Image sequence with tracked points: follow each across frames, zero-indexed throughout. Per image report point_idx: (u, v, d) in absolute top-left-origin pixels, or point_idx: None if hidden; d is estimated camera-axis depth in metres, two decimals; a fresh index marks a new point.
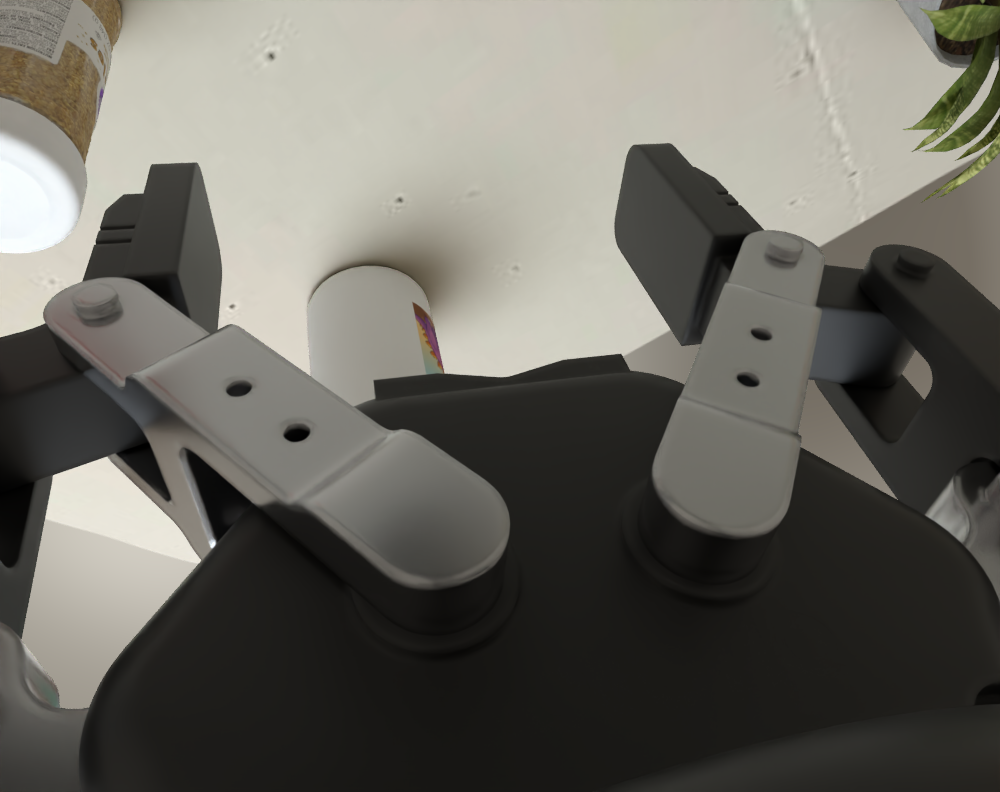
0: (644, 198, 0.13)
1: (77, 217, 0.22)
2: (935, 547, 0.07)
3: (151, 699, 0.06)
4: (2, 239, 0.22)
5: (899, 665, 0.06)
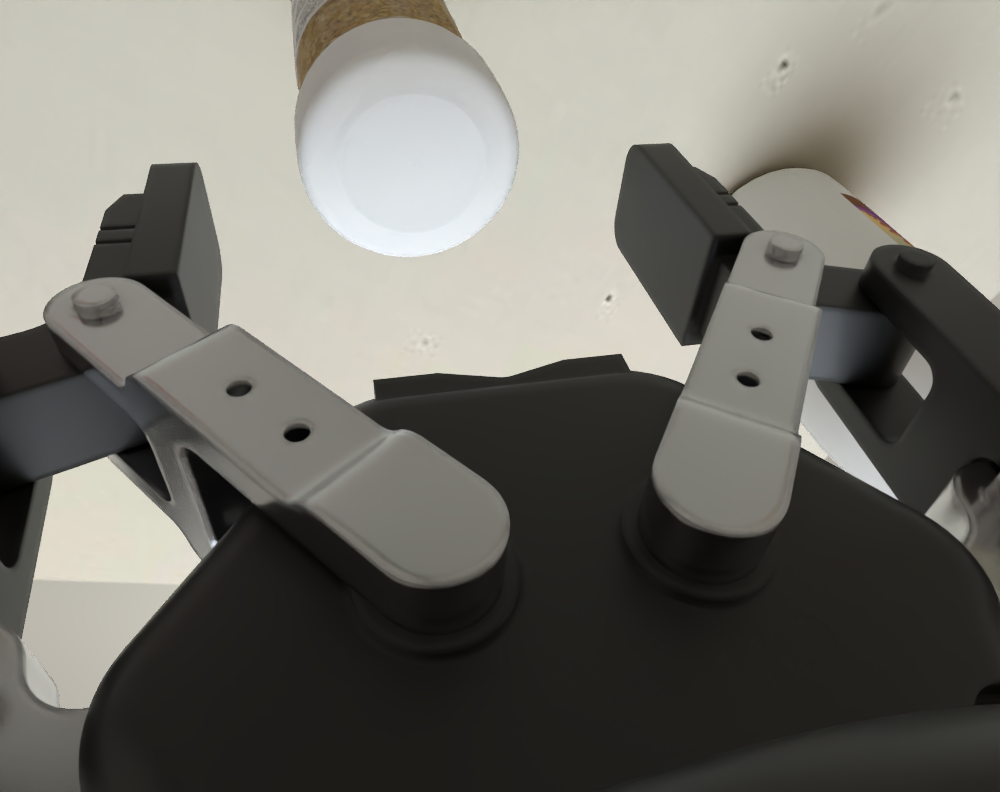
0: (644, 198, 0.13)
1: (517, 154, 0.15)
2: (935, 547, 0.07)
3: (152, 699, 0.06)
4: (437, 229, 0.16)
5: (899, 665, 0.06)
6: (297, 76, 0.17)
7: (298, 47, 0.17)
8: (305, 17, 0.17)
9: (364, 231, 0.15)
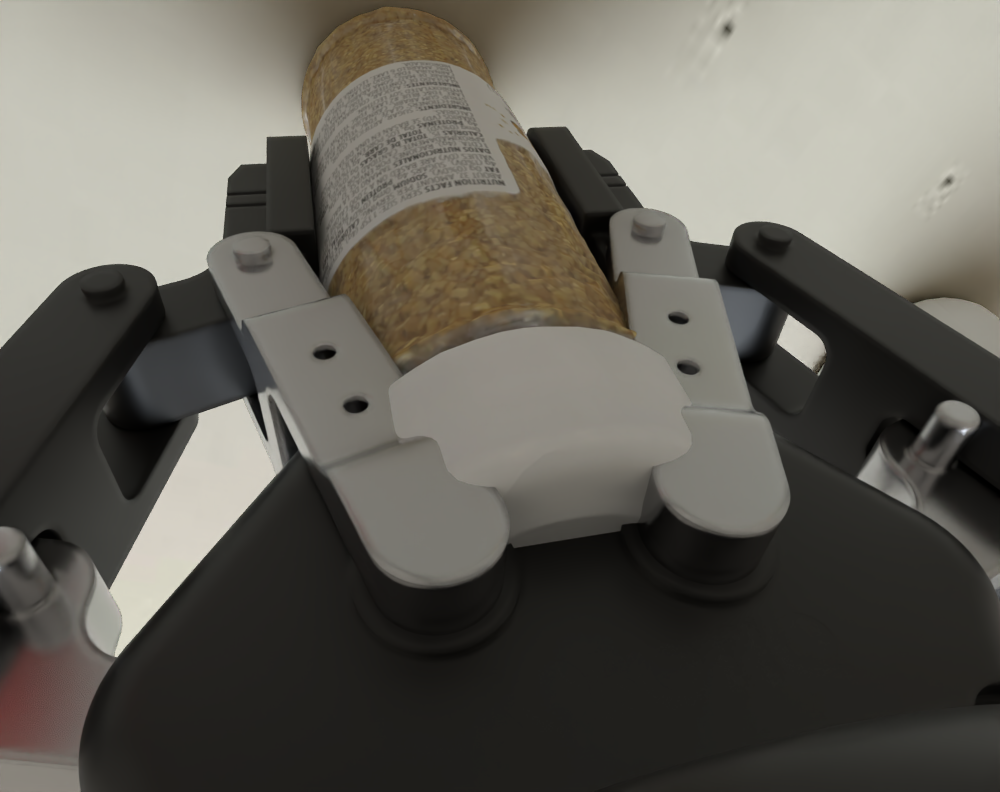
0: None
1: None
2: (919, 534, 0.07)
3: (151, 699, 0.06)
4: None
5: (949, 675, 0.06)
6: None
7: (327, 290, 0.10)
8: (339, 237, 0.10)
9: None
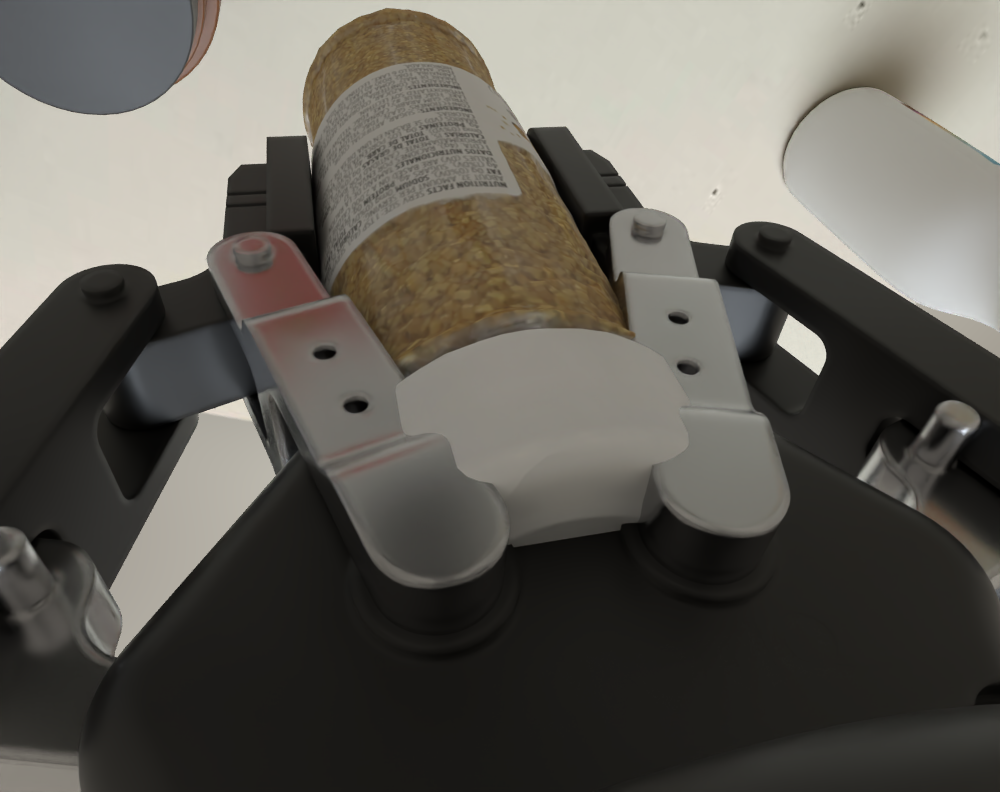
0: None
1: None
2: (919, 534, 0.07)
3: (151, 699, 0.06)
4: None
5: (948, 675, 0.06)
6: None
7: (330, 292, 0.10)
8: (341, 239, 0.10)
9: None
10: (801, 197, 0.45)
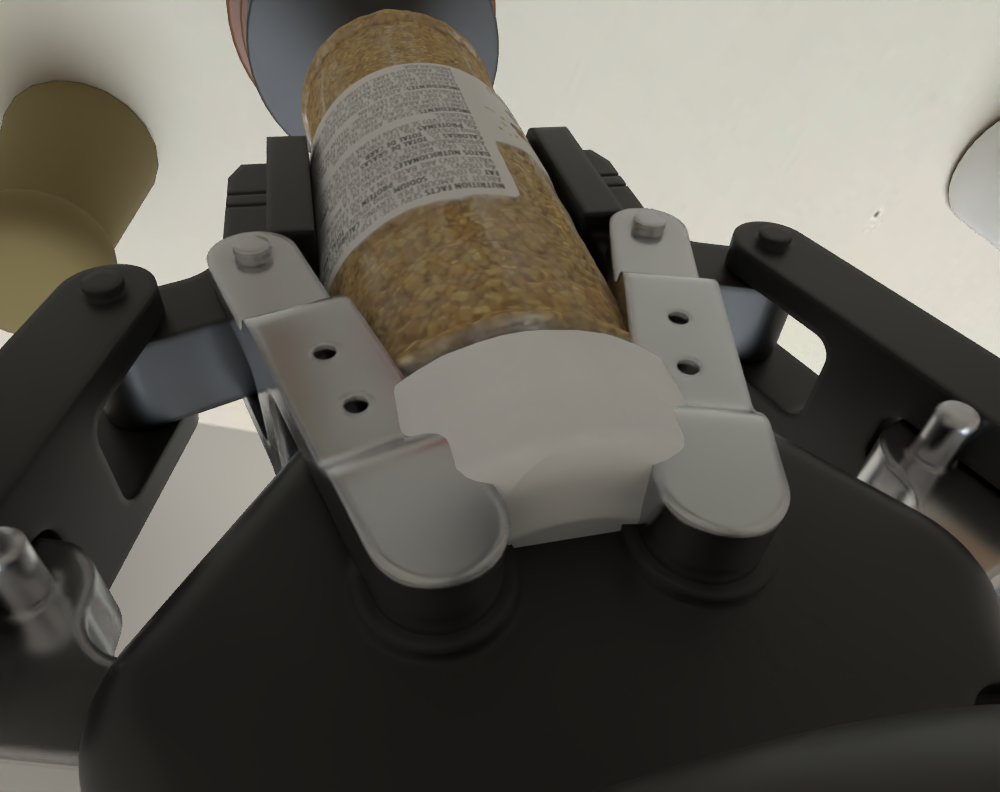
0: None
1: None
2: (919, 534, 0.07)
3: (151, 700, 0.06)
4: None
5: (948, 675, 0.06)
6: None
7: (328, 293, 0.10)
8: (339, 240, 0.10)
9: None
10: (973, 219, 0.43)
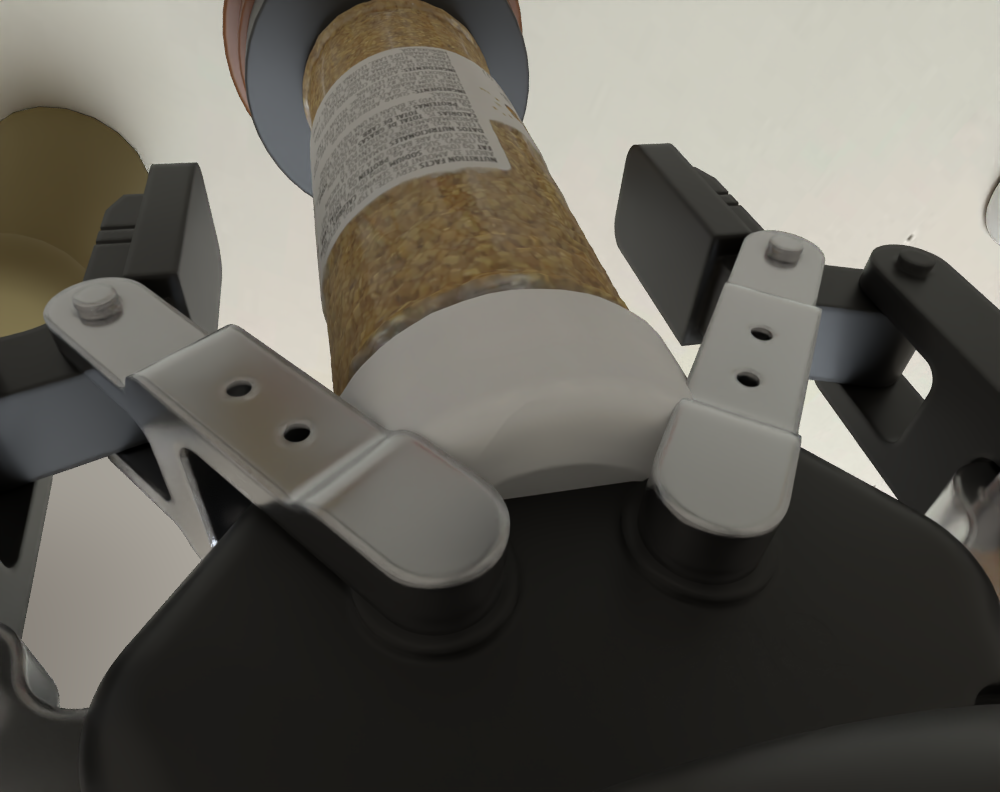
0: (644, 198, 0.13)
1: None
2: (935, 547, 0.07)
3: (151, 698, 0.06)
4: None
5: (899, 665, 0.06)
6: (323, 302, 0.11)
7: (326, 264, 0.11)
8: (337, 213, 0.11)
9: None
10: None
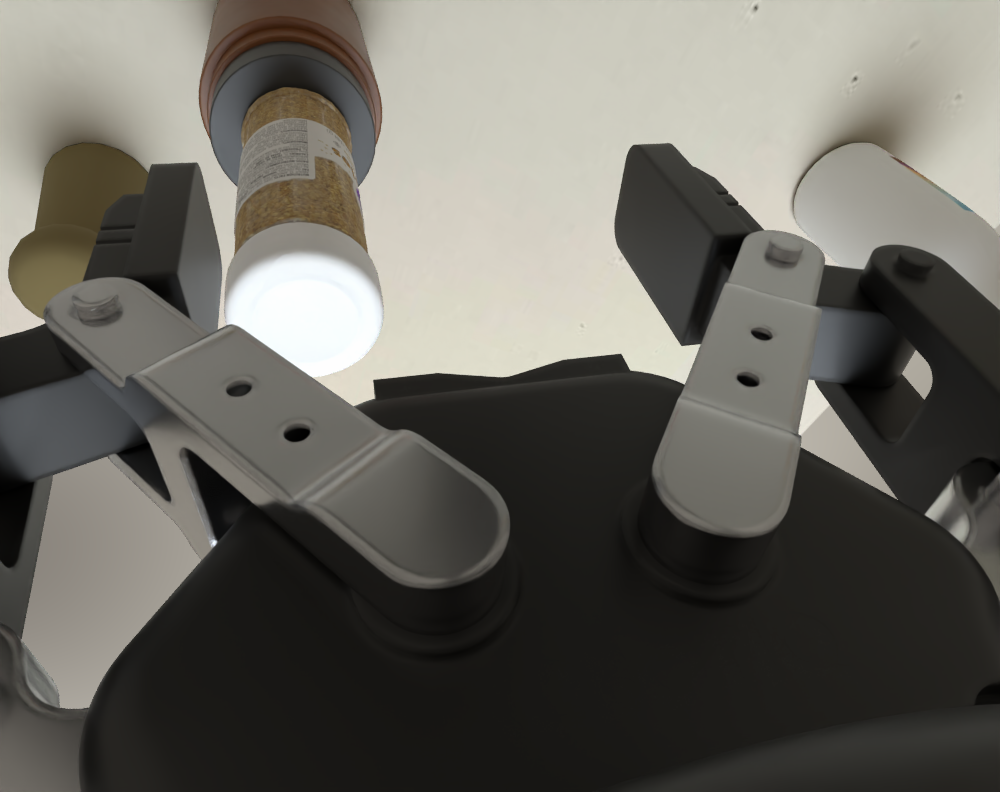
0: (644, 198, 0.13)
1: (382, 309, 0.21)
2: (935, 547, 0.07)
3: (151, 699, 0.06)
4: (328, 359, 0.22)
5: (899, 665, 0.06)
6: None
7: (235, 222, 0.24)
8: (240, 199, 0.24)
9: None
10: (809, 233, 0.54)
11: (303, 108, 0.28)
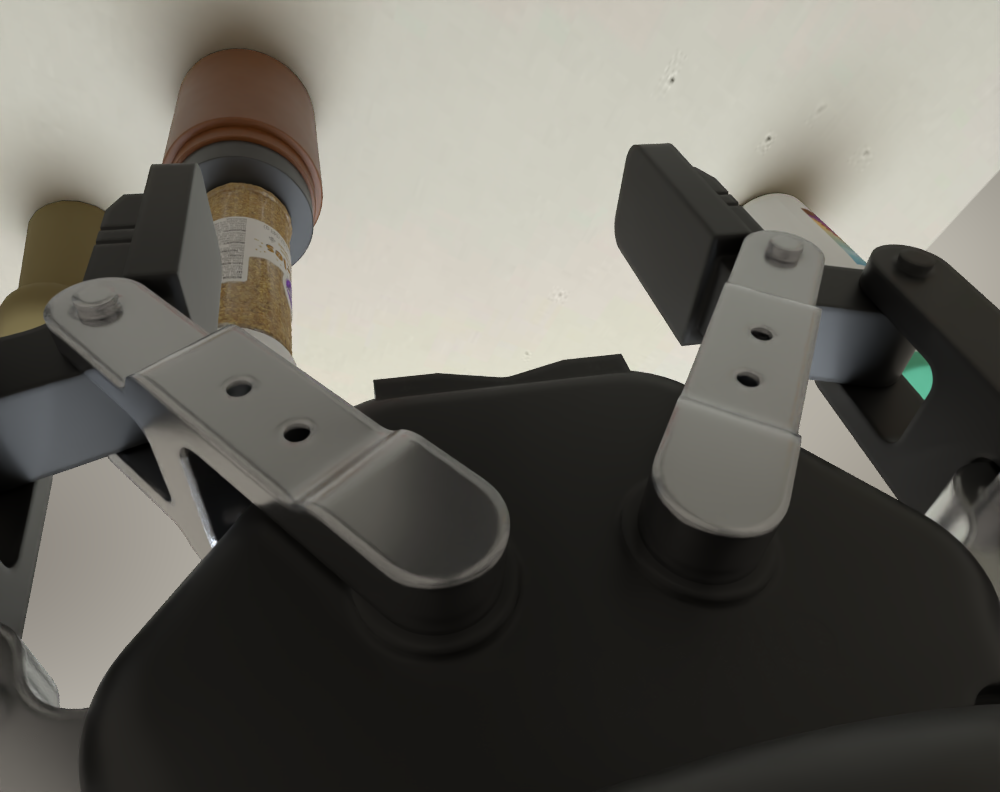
0: (644, 198, 0.13)
1: None
2: (935, 547, 0.07)
3: (151, 699, 0.06)
4: None
5: (900, 665, 0.06)
6: None
7: None
8: None
9: None
10: None
11: (245, 204, 0.33)
